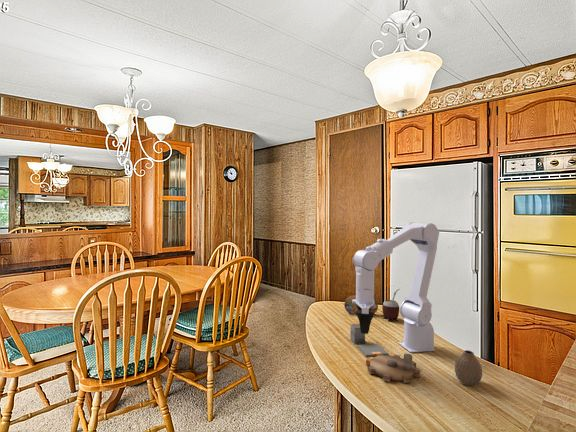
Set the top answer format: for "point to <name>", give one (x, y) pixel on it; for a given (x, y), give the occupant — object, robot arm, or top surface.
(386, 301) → the mate gourd
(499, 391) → the top surface
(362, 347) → the mat
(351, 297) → the tin
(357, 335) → the link block
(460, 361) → the vase
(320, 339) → the top surface
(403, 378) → the sprocket wheel
